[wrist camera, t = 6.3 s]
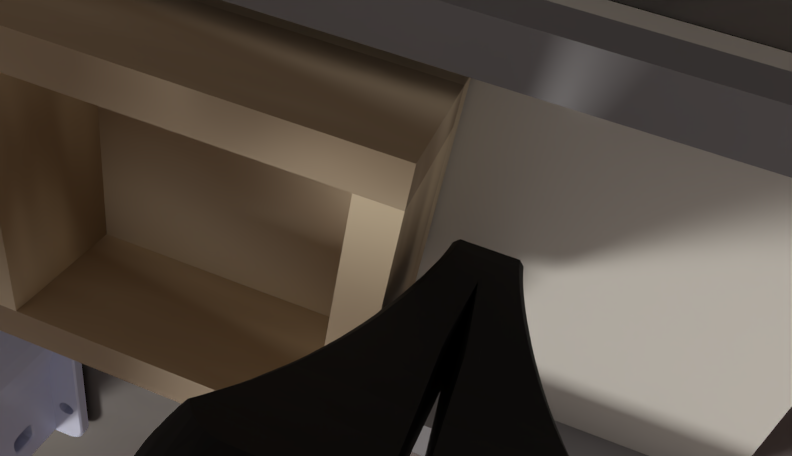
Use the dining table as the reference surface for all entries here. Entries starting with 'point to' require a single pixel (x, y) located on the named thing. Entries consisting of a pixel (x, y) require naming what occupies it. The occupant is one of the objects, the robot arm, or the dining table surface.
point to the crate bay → (616, 206)
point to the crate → (207, 185)
